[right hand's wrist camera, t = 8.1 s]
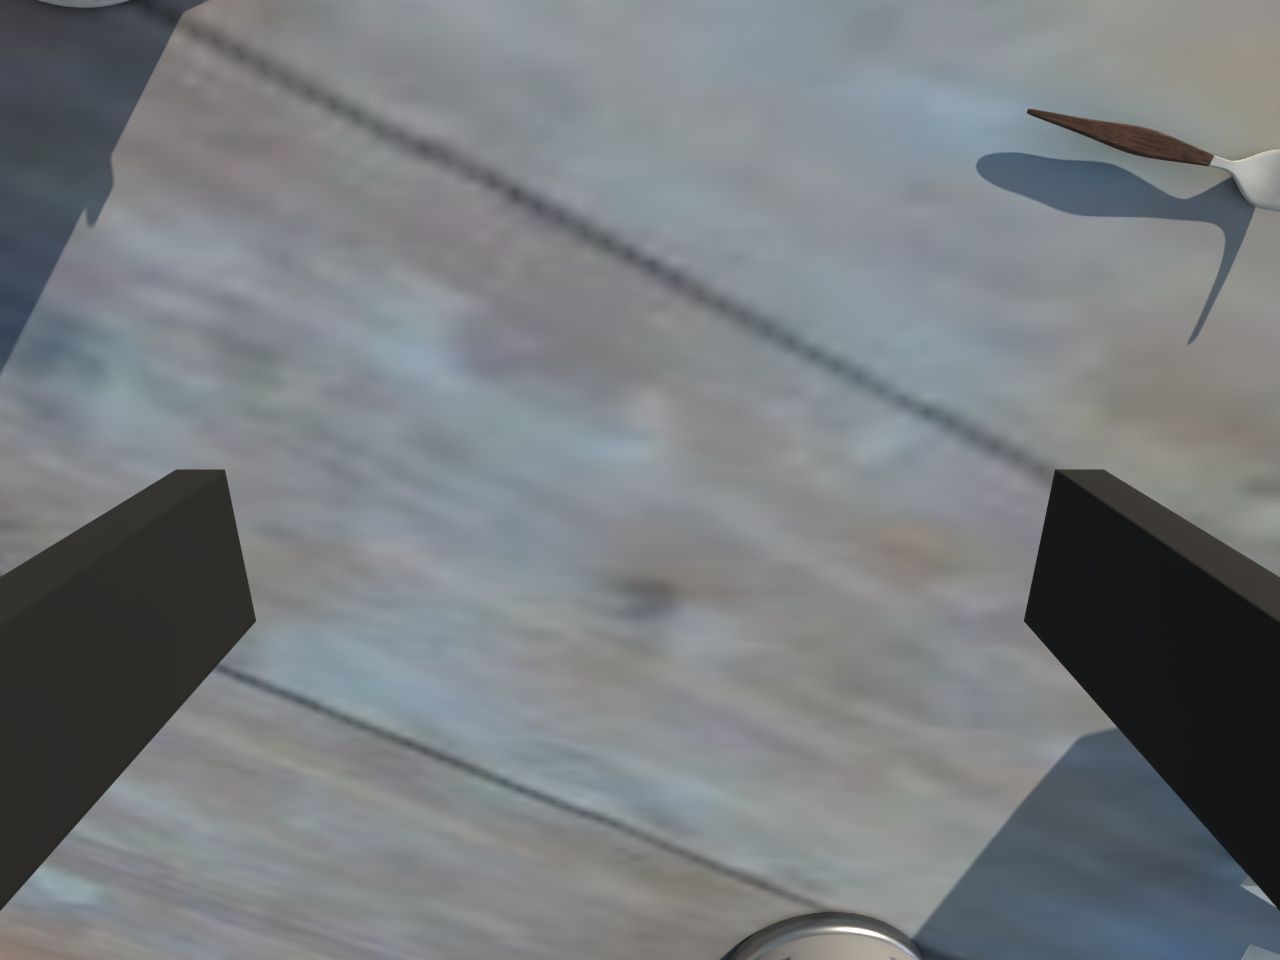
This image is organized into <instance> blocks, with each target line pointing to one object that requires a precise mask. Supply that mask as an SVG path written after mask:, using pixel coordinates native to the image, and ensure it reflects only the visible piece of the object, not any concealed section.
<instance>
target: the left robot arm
mask: <svg viewBox="0 0 1280 960" xmlns="http://www.w3.org/2000/svg"><path fill="white" fill-rule="evenodd" d="M38 1H42V2H46V3H50V4H54V5H60V6H66V7H76V8H93V7H104V6H110V5H115V4H119V3H123V2H126V1H129V0H38Z"/></svg>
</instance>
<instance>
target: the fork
mask: <svg viewBox="0 0 1280 960" xmlns="http://www.w3.org/2000/svg"><path fill="white" fill-rule="evenodd" d="M1027 113H1028V114H1030V115H1032V116H1034V117H1037V118H1040V119H1042V120H1045V121H1047V122H1050V123H1053V124H1056V125H1058V126H1061V127H1064V128H1066V129H1069V130H1072V131H1074V132H1077V133H1079V134H1082V135H1084V136H1087V137H1089V138H1092V139H1094V140H1097V141H1099V142H1101V143H1104V144H1106V145H1109V146H1111V147H1113V148H1116V149H1119V150H1121V151H1124V152H1127V153H1130V154H1134V155H1138V156H1142V157H1147V158H1153V159H1160V160H1167V161H1174V162H1181V163H1189V164H1196V165H1203V166H1210V167H1216V168H1220V169H1223V170H1226V171H1227V172H1229V173H1230V174H1231V176H1232V177H1233V178H1234V180H1235V182H1236V184H1237V186H1238V188H1239V190H1240V192H1241V193H1242V195H1243V196H1244V198H1245V199H1246V200H1247V201H1248V202H1249V203H1251V204H1252V205H1254V206H1256V207H1259V208H1262V209H1267V210H1273V211H1280V150H1271V151H1266V152H1262V153H1259V154H1256V155H1254V156H1251V157H1248V158H1245V159H1242V160H1238V161H1229V160H1225V159H1222V158H1220V157H1217V156H1215V155H1212V154H1210V153H1208V152H1205V151H1203V150H1201V149H1199V148H1196V147H1194V146H1192V145H1189V144H1187V143H1185V142H1183V141H1180V140H1178V139H1176V138H1173V137H1171V136H1168V135H1166V134H1163V133H1160V132H1158V131H1154V130H1151V129H1147V128H1143V127H1138V126H1132V125H1126V124H1119V123H1112V122H1105V121H1098V120H1091V119H1085V118H1079V117H1073V116H1068V115H1062V114H1056V113H1051V112H1045V111H1039V110H1033V109H1028V111H1027Z"/></svg>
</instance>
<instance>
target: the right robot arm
mask: <svg viewBox="0 0 1280 960" xmlns="http://www.w3.org/2000/svg"><path fill="white" fill-rule="evenodd" d="M255 622H256V618H255V614H254V609H253V604H252V599H251V594H250V589H249V584H248V580H247V575H246V570H245V565H244V560H243V555H242V551H241V546H240V541H239V536H238V531H237V526H236V521H235V517H234V512H233V507H232V502H231V497H230V492H229V488H228V483H227V478H226V473H225V470H175V471H173V472H172V473H170V474H168V475H167V476H165V477H163V478H162V479H160V480H159V481H157V482H155V483H154V484H152V485H150V486H149V487H147V488H146V489H144V490H142V491H141V492H139V493H137V494H136V495H134V496H132V497H131V498H129V499H128V500H126V501H124V502H123V503H121V504H119V505H118V506H116V507H114V508H113V509H111V510H110V511H108V512H106V513H105V514H103V515H101V516H100V517H98V518H96V519H95V520H93V521H92V522H90V523H88V524H87V525H85V526H83V527H82V528H80V529H78V530H77V531H75V532H74V533H72V534H70V535H69V536H67V537H65V538H64V539H62V540H61V541H59V542H57V543H56V544H54V545H52V546H51V547H49V548H47V549H46V550H44V551H43V552H41V553H39V554H38V555H36V556H34V557H33V558H31V559H29V560H28V561H26V562H25V563H23V564H21V565H20V566H18V567H16V568H15V569H13V570H11V571H10V572H8V573H7V574H5V575H3V576H2V577H0V911H1V909H2V908H3V907H4V906H5V905H6V904H7V903H8V902H9V900H10V899H11V898H12V897H13V896H14V895H15V894H16V892H17V891H18V890H19V889H20V888H21V887H22V886H23V885H24V883H25V882H26V881H27V880H28V879H29V878H30V877H31V875H32V874H33V873H34V872H35V871H36V870H37V869H38V868H39V866H40V865H41V864H42V863H43V862H44V861H45V860H46V858H47V857H48V856H49V855H50V854H51V853H52V852H53V851H54V849H55V848H56V847H57V846H58V845H59V844H60V843H61V841H62V840H63V839H64V838H65V837H66V836H67V835H68V834H69V832H70V831H71V830H72V829H73V828H74V827H75V826H76V824H77V823H78V822H79V821H80V820H81V819H82V818H83V817H84V815H85V814H86V813H87V812H88V811H89V810H90V809H91V807H92V806H93V805H94V804H95V803H96V802H97V801H98V800H99V798H100V797H101V796H102V795H103V794H104V793H105V792H106V790H107V789H108V788H109V787H110V786H111V785H112V784H113V783H114V781H115V780H116V779H117V778H118V777H119V776H120V775H121V773H122V772H123V771H124V770H125V769H126V768H127V767H128V766H129V764H130V763H131V762H132V761H133V760H134V759H135V758H136V756H137V755H138V754H139V753H140V752H141V751H142V750H143V749H144V747H145V746H146V745H147V744H148V743H149V742H150V741H151V739H152V738H153V737H154V736H155V735H156V734H157V733H158V732H159V730H160V729H161V728H162V727H163V726H164V725H165V724H166V722H167V721H168V720H169V719H170V718H171V717H172V716H173V715H174V713H175V712H176V711H177V710H178V709H179V708H180V707H181V706H182V704H183V703H184V702H185V701H186V700H187V699H188V698H189V696H190V695H191V694H192V693H193V692H194V691H195V690H196V689H197V687H198V686H199V685H200V684H201V683H202V682H203V681H204V679H205V678H206V677H207V676H208V675H209V674H210V673H211V672H212V670H213V669H214V668H215V667H216V666H217V665H218V664H219V662H220V661H221V660H222V659H223V658H224V657H225V656H226V655H227V653H228V652H229V651H230V650H231V649H232V648H233V647H234V645H235V644H236V643H237V642H238V641H239V640H240V639H241V638H242V636H243V635H244V634H245V633H246V632H247V631H248V630H249V628H250V627H251V626H252V625H253V624H254V623H255ZM1024 622H1025V623H1026V624H1027V625H1028V626H1029V627H1030V628H1031V630H1032V631H1033V632H1034V633H1035V634H1036V635H1037V636H1038V638H1039V639H1040V640H1041V641H1042V642H1043V643H1044V644H1045V645H1046V647H1047V648H1048V649H1049V650H1050V651H1051V652H1052V653H1053V655H1054V656H1055V657H1056V658H1057V659H1058V660H1059V661H1060V662H1061V664H1062V665H1063V666H1064V667H1065V668H1066V669H1067V670H1068V672H1069V673H1070V674H1071V675H1072V676H1073V677H1074V678H1075V679H1076V681H1077V682H1078V683H1079V684H1080V685H1081V686H1082V687H1083V689H1084V690H1085V691H1086V692H1087V693H1088V694H1089V695H1090V696H1091V698H1092V699H1093V700H1094V701H1095V702H1096V703H1097V704H1098V706H1099V707H1100V708H1101V709H1102V710H1103V711H1104V712H1105V713H1106V715H1107V716H1108V717H1109V718H1110V719H1111V720H1112V721H1113V723H1114V724H1115V725H1116V726H1117V727H1118V728H1119V729H1120V730H1121V732H1122V733H1123V734H1124V735H1125V736H1126V737H1127V738H1128V739H1129V741H1130V742H1131V743H1132V744H1133V745H1134V746H1135V747H1136V749H1137V750H1138V751H1139V752H1140V753H1141V754H1142V755H1143V756H1144V758H1145V759H1146V760H1147V761H1148V762H1149V763H1150V764H1151V766H1152V767H1153V768H1154V769H1155V770H1156V771H1157V772H1158V773H1159V775H1160V776H1161V777H1162V778H1163V779H1164V780H1165V781H1166V783H1167V784H1168V785H1169V786H1170V787H1171V788H1172V789H1173V790H1174V792H1175V793H1176V794H1177V795H1178V796H1179V797H1180V798H1181V800H1182V801H1183V802H1184V803H1185V804H1186V805H1187V806H1188V807H1189V809H1190V810H1191V811H1192V812H1193V813H1194V814H1195V815H1196V817H1197V818H1198V819H1199V820H1200V821H1201V822H1202V823H1203V824H1204V826H1205V827H1206V828H1207V829H1208V830H1209V831H1210V832H1211V834H1212V835H1213V836H1214V837H1215V838H1216V839H1217V840H1218V841H1219V843H1220V844H1221V845H1222V846H1223V847H1224V848H1225V849H1226V851H1227V852H1228V853H1229V854H1230V855H1231V856H1232V857H1233V858H1234V860H1235V861H1236V862H1237V863H1238V864H1239V865H1240V866H1241V868H1242V869H1243V870H1244V871H1245V872H1246V873H1247V874H1248V875H1249V877H1250V878H1251V879H1252V880H1253V881H1254V882H1255V883H1256V885H1257V886H1258V887H1259V888H1260V889H1261V890H1262V891H1263V892H1264V894H1265V895H1266V896H1267V897H1268V898H1269V899H1270V900H1271V902H1272V903H1273V904H1274V905H1275V906H1276V907H1277V908H1278V909H1279V911H1280V577H1278V576H1277V575H1275V574H1273V573H1272V572H1270V571H1269V570H1267V569H1265V568H1264V567H1262V566H1260V565H1259V564H1257V563H1255V562H1254V561H1252V560H1251V559H1249V558H1247V557H1246V556H1244V555H1242V554H1241V553H1239V552H1237V551H1236V550H1234V549H1233V548H1231V547H1229V546H1228V545H1226V544H1224V543H1223V542H1221V541H1219V540H1218V539H1216V538H1215V537H1213V536H1211V535H1210V534H1208V533H1206V532H1205V531H1203V530H1202V529H1200V528H1198V527H1197V526H1195V525H1193V524H1192V523H1190V522H1188V521H1187V520H1185V519H1184V518H1182V517H1180V516H1179V515H1177V514H1175V513H1174V512H1172V511H1170V510H1169V509H1167V508H1166V507H1164V506H1162V505H1161V504H1159V503H1157V502H1156V501H1154V500H1152V499H1151V498H1149V497H1148V496H1146V495H1144V494H1143V493H1141V492H1139V491H1138V490H1136V489H1134V488H1133V487H1131V486H1130V485H1128V484H1126V483H1125V482H1123V481H1121V480H1120V479H1118V478H1117V477H1115V476H1113V475H1112V474H1110V473H1108V472H1107V471H1105V470H1055V473H1054V478H1053V483H1052V488H1051V492H1050V497H1049V502H1048V507H1047V512H1046V517H1045V521H1044V526H1043V531H1042V536H1041V541H1040V546H1039V551H1038V555H1037V560H1036V565H1035V570H1034V575H1033V580H1032V584H1031V589H1030V594H1029V599H1028V604H1027V609H1026V614H1025V618H1024ZM729 960H924V958H923V956H922V954H921V952H920V951H919V949H918V947H917V946H916V945H915V944H914V943H913V942H912V941H911V940H910V939H909V938H908V937H907V936H906V935H905V934H903V933H902V932H901V931H899V930H898V929H896V928H894V927H892V926H891V925H889V924H886V923H884V922H882V921H879V920H876V919H874V918H870V917H866V916H862V915H857V914H851V913H838V912H826V913H814V914H807V915H801V916H797V917H793V918H789V919H786V920H783V921H780V922H778V923H775V924H773V925H771V926H769V927H767V928H765V929H763V930H761V931H759V932H758V933H756V934H754V935H753V936H752V937H750V938H749V939H748V940H746V941H745V942H744V943H743V944H742V945H741V946H739V947H738V948H737V950H736V951H735V952H734V953H733V954H732V956H731V957H730V958H729Z"/></svg>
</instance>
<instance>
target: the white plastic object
mask: <svg viewBox="0 0 1280 960" xmlns="http://www.w3.org/2000/svg"><path fill="white" fill-rule="evenodd" d="M1240 886H1241V887H1243V888H1245V889H1246V890H1248V891H1250V892H1251V893H1253V894H1255V895H1256V896H1258V897H1260V898H1261V899H1263V900H1265V901H1266V902H1268V903H1270V904H1271V905H1273V906H1275V905H1274V904H1273V903H1272V902H1271V900H1270V899H1269V898H1268V897H1267V896H1266V895H1265V894H1264V892H1263V891H1262V890H1261V889H1260V888H1259V887H1258V886H1257V885H1256V883H1255V882H1254V881H1253V880H1252V879H1251V878H1250V877H1249V875H1248V876H1247V877H1246V879H1245V880H1244V881H1243V882H1242V884H1241V885H1240ZM1275 907H1276V906H1275ZM1276 908H1277V907H1276ZM1241 960H1280V955H1279V954H1277V953H1274V952H1271V951H1268V950H1265V949H1262V948H1260V947H1257V946H1254V945H1251V944H1250V945H1249V946H1248V948H1247V950H1246V952H1245V953H1244V955H1243V957H1242V959H1241Z"/></svg>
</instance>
